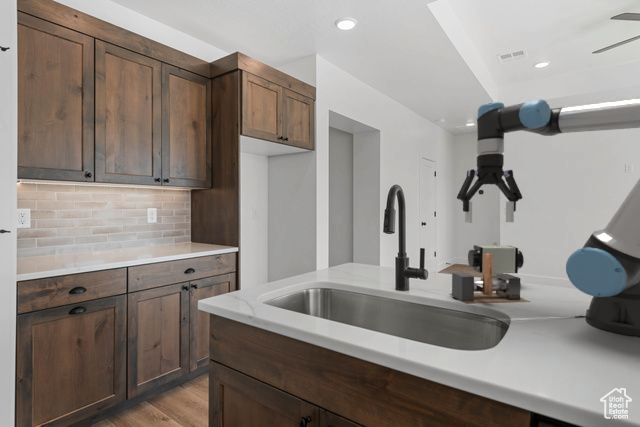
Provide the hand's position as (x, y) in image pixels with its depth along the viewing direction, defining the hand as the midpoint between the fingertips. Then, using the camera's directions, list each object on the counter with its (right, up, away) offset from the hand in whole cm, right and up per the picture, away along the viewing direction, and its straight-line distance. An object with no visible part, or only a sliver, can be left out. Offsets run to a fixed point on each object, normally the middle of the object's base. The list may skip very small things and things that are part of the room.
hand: (489, 222), depth 109 cm
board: (+4, -26, +8) cm, 28 cm away
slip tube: (+4, -24, +5) cm, 24 cm away
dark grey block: (-5, -26, +7) cm, 27 cm away
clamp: (+11, -26, +9) cm, 29 cm away
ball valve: (+14, -26, +25) cm, 39 cm away
